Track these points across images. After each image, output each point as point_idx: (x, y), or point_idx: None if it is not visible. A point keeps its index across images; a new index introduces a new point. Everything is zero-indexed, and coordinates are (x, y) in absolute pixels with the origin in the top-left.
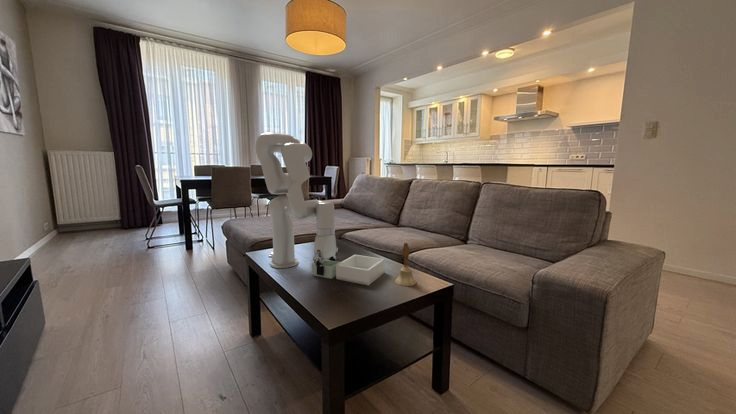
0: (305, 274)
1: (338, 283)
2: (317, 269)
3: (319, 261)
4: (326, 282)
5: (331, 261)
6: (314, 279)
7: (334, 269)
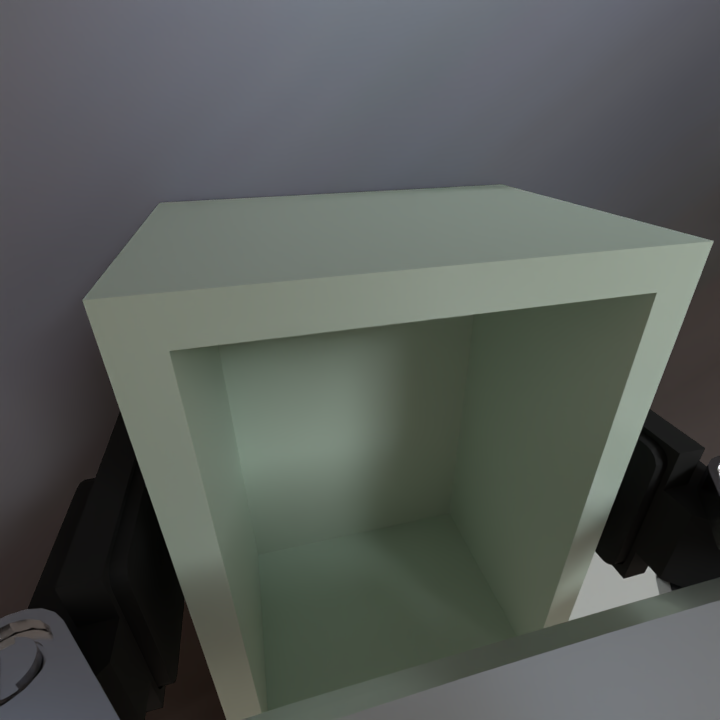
0: (62, 9)
1: (178, 666)
2: (59, 551)
3: (520, 291)
4: None
5: (560, 548)
6: (25, 407)
7: (328, 653)
